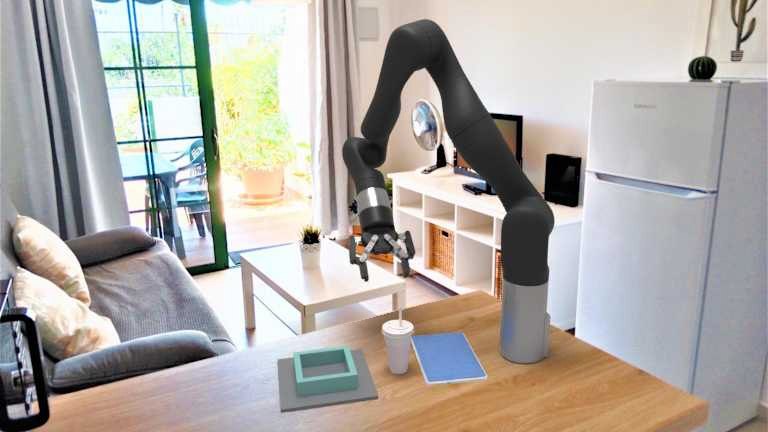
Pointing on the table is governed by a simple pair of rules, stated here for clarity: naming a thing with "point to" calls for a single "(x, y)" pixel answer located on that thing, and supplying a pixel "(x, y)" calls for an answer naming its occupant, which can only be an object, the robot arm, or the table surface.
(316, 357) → the holder
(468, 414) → the table surface
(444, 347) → the tablet computer
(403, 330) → the smoothie
